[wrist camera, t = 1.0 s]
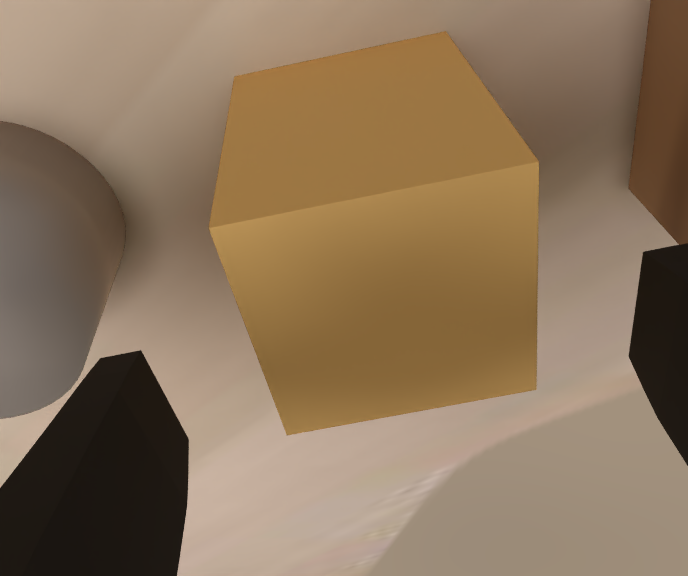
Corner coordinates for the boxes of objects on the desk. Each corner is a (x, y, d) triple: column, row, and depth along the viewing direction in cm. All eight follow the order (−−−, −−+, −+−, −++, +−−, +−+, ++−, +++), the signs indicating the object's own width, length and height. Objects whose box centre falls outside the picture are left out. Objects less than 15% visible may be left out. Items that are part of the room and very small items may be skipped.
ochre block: (445, 31, 13) (539, 161, 8) (460, 213, 16) (536, 389, 11) (234, 75, 13) (208, 228, 9) (285, 248, 16) (287, 435, 11)
